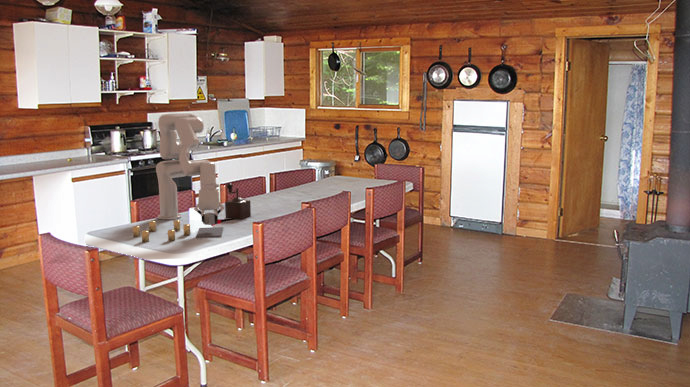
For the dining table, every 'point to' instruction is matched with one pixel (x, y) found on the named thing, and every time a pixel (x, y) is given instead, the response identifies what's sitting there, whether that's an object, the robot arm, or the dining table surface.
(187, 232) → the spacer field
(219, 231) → the mat
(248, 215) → the dark brown coffee grinder
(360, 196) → the dining table surface
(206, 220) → the dark grey block
